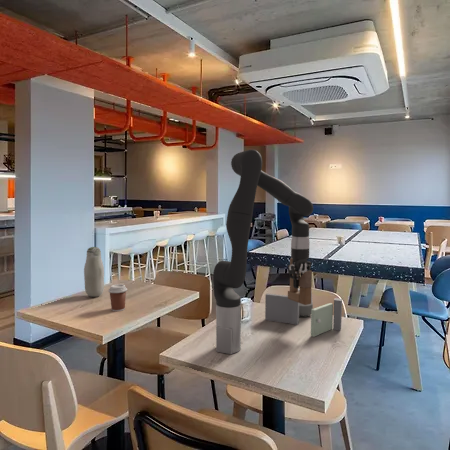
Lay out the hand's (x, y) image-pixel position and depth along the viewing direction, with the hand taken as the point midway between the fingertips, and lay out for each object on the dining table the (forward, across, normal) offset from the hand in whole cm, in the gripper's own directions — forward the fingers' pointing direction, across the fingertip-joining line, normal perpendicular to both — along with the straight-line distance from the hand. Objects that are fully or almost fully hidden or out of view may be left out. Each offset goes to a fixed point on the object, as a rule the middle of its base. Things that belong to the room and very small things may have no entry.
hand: (299, 287), depth 163 cm
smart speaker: (+19, +18, +11) cm, 28 cm away
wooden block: (+6, 0, 0) cm, 6 cm away
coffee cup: (+19, -43, +79) cm, 92 cm away
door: (+19, +5, -9) cm, 21 cm away
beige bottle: (+19, -42, +109) cm, 118 cm away
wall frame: (+19, +7, +4) cm, 20 cm away
